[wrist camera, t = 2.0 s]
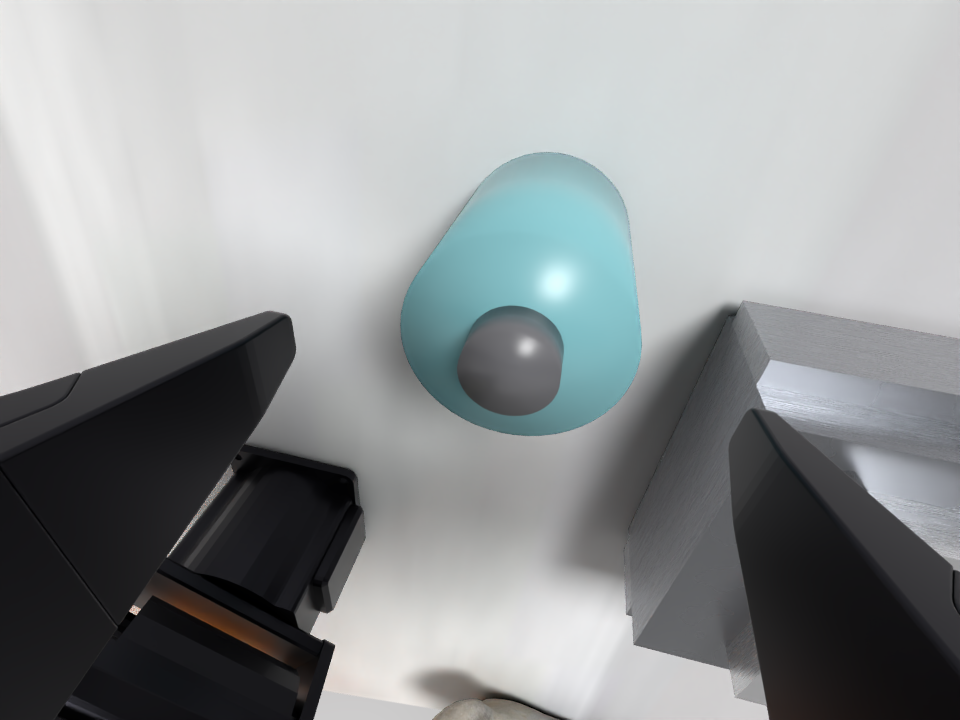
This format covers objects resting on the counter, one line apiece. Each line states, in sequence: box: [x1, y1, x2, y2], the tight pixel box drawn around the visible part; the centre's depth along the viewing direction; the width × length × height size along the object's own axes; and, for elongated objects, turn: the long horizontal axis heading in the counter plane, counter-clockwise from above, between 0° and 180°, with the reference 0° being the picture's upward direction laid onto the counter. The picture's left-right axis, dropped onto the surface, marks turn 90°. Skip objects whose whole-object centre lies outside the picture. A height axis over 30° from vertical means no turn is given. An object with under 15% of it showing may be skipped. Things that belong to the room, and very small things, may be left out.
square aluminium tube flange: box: [624, 301, 960, 706], centre depth 15 cm, size 14×13×6 cm
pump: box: [400, 152, 642, 436], centre depth 12 cm, size 5×5×7 cm
